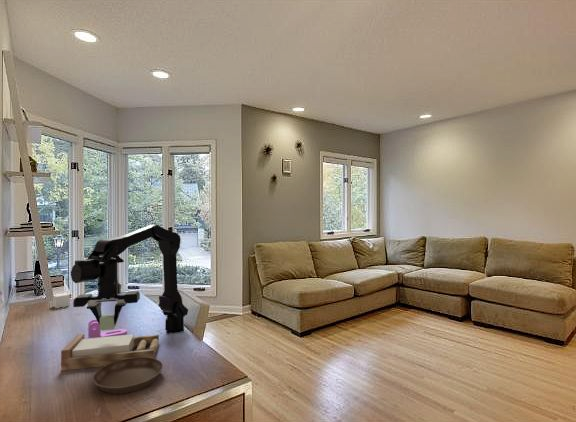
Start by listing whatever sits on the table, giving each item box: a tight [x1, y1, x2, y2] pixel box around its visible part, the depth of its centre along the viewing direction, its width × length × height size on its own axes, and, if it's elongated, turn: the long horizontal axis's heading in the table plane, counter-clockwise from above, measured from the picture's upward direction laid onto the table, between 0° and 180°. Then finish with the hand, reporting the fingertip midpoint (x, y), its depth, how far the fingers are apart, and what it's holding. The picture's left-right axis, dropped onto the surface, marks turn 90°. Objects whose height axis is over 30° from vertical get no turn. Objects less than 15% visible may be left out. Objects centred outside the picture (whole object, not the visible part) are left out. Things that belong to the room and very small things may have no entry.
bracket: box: [87, 318, 128, 339], centre depth 128 cm, size 13×6×7 cm, turn 123°
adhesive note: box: [52, 292, 71, 309], centre depth 171 cm, size 6×6×6 cm
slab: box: [72, 333, 135, 358], centre depth 110 cm, size 16×10×2 cm, turn 107°
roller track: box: [60, 333, 160, 371], centre depth 111 cm, size 26×14×6 cm, turn 105°
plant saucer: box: [92, 357, 164, 395], centre depth 94 cm, size 18×18×3 cm
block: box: [100, 313, 117, 331], centre depth 110 cm, size 4×4×4 cm
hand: (108, 324), depth 110 cm, fingers closed on block, 4 cm apart
